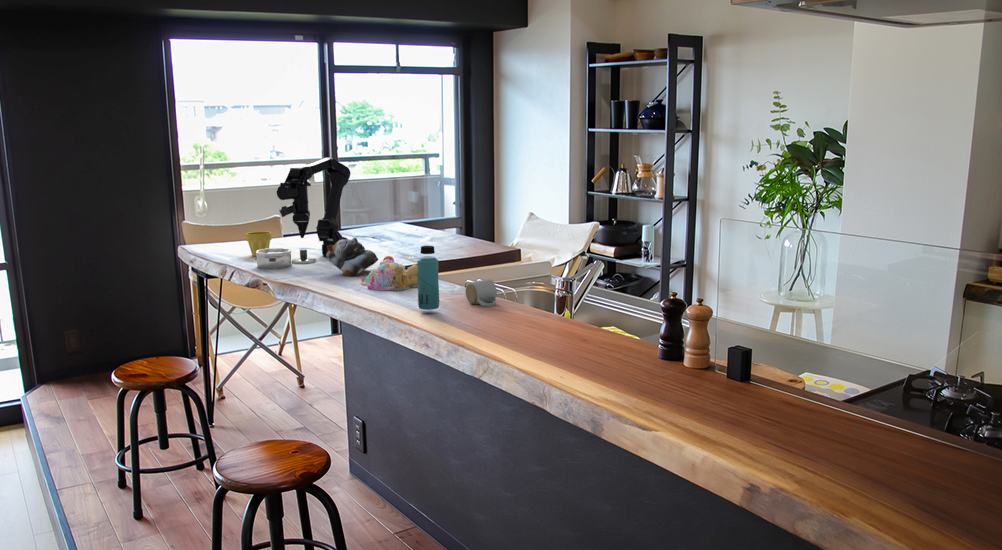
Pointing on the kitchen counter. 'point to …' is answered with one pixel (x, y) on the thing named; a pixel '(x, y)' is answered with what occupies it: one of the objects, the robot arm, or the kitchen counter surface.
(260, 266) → the pot
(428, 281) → the beverage bottle
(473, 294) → the ceramic mug
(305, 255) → the lid
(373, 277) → the pastel plush toy
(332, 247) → the grey teddy bear
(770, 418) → the kitchen counter surface
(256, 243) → the plant pot
